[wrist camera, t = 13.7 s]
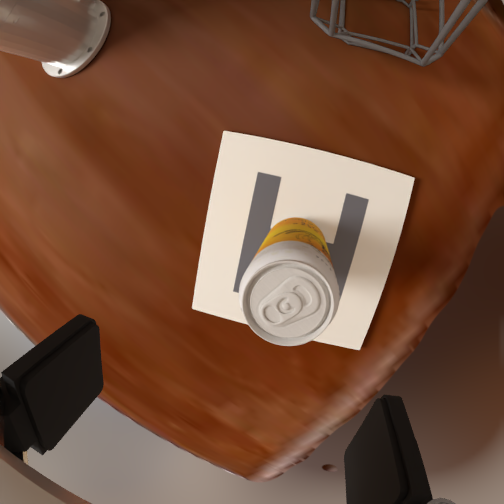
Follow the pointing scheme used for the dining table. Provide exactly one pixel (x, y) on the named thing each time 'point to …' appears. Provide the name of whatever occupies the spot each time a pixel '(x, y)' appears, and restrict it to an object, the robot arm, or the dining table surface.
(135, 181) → the dining table surface
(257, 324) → the beer can
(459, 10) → the geometric lantern
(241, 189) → the letter board
